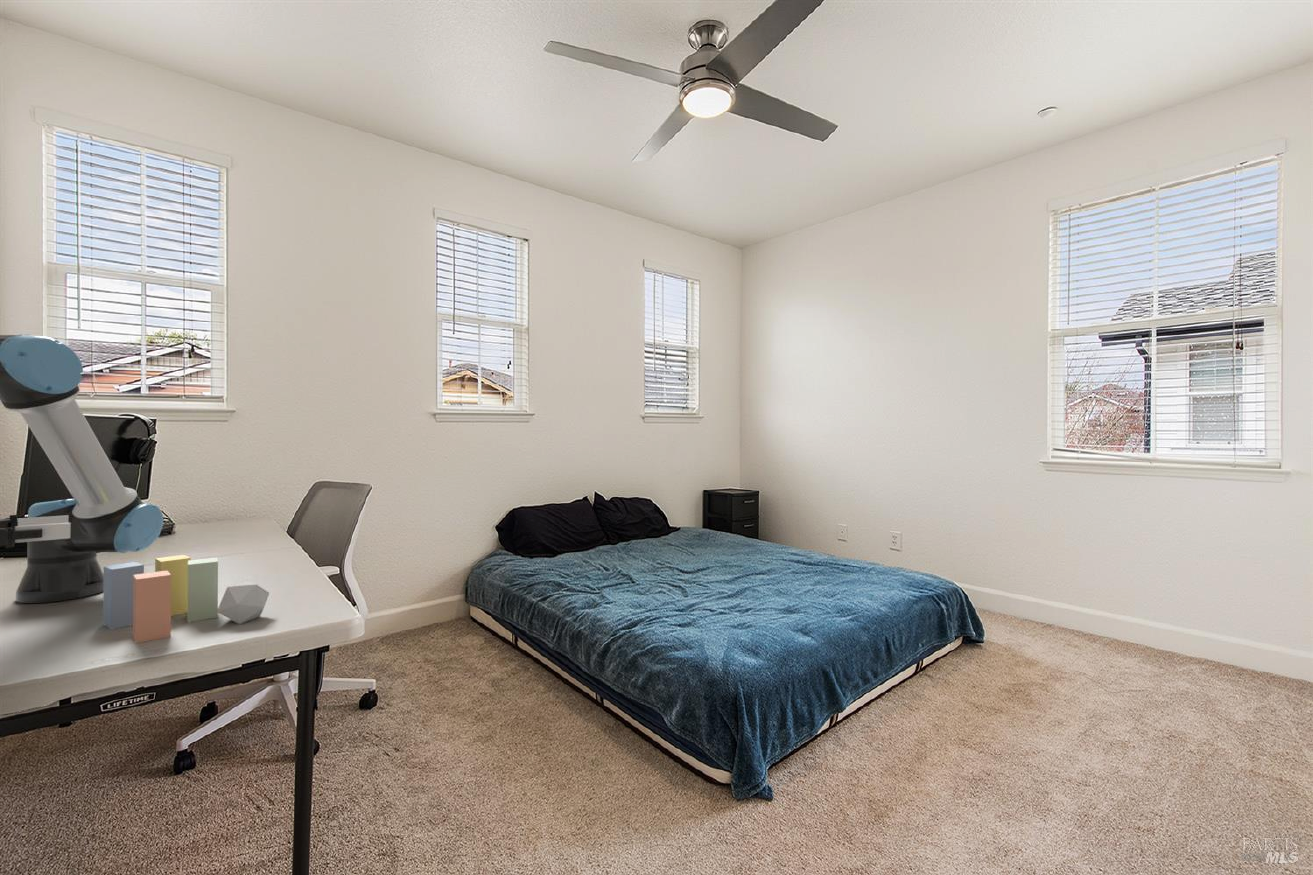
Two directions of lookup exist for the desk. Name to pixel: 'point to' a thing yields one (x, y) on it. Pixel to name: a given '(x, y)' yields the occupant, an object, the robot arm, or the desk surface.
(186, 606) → the mustard pillar
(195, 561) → the sage pillar
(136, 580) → the terracotta pillar
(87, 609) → the desk surface
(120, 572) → the slate pillar
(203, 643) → the desk surface
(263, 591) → the die
